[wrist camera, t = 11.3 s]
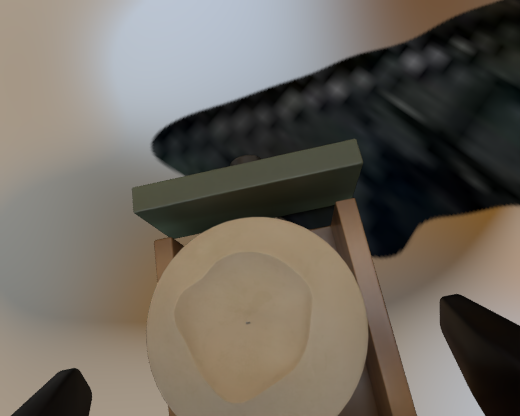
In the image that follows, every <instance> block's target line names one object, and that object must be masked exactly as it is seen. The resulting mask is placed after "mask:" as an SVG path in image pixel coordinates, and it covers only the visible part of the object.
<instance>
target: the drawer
mask: <svg viewBox="0 0 520 416" xmlns="http://www.w3.org/2000/svg"><path fill="white" fill-rule="evenodd" d="M362 165H363V160H362V157H361V153H360V150H359V147H358V144H357V140H356V139H352V140H347V141H343V142H338V143H334V144H329V145H324V146H320V147H315V148H311V149H306V150H302V151H297V152H293V153H288V154H284V155H279V156H275V157H270V158H266V159H261V158H260V157H258V156H255V155H246V156H241V157H238V158H236V159H235V160H233V161H232V162H231V165H230V166H229V167H225V168H220V169H216V170H211V171H207V172H202V173H198V174H193V175H189V176H184V177H179V178H175V179H170V180H166V181H162V182H157V183H153V184H148V185H143V186H139V187H134V188H132V196H133V210H134V213H135V214H136V215H138V216H140V217H141V218H142V219H144V220H145V221H146V222H148V223H149V224H151V225H152V226H154V227H155V228H157V229H158V230H159V231H161V232H162V233H164V234H165V235H167V236H168V238H163V239H159V240H155V241H154V247H155V259H156V270H157V282H159V280H160V278H161V276H162V274H163V272H164V271H165V269H166V268H167V266H168V265H169V263H170V262H171V260H172V259H173V258H174V257H175V256H176V255H177V253H178V252H179V251H180V250H181V249H182V248H183V247H184V246H183V245H182V244H180V243H179V242H177V241H176V240H174V239H175V238H180V237H185V236H190V235H195V234H199V233H203V232H205V231H206V230H208V229H210V228H212V227H214V226H217V225H219V224H222V223H224V222H227V221H231V220H235V219H240V218H248V217H268V218H275V217H280V216H284V215H289V214H294V213H299V212H303V211H308V210H313V209H318V208H322V207H327V206H332V205H335V208H334V213H333V218H332V222H331V225H330V226H325V227H321V228H316V229H311V230H309V231H311V232H313V233H315V234H316V235H318V236H319V237H320V238H322V239H323V240H324V241H326V242H327V243H328V244H329V245H330V246H331V247H332V248H333V249H334V250H335V251H336V252H337V253H338V254H339V255H340V256H341V258H342V259H343V260H344V261H345V263H346V264H347V266H348V267H349V269H350V270H351V272H352V274H353V275H354V277H355V279H356V282H357V284H358V286H359V288H360V290H361V294H362V297H363V300H364V303H365V308H366V314H367V319H368V348H367V355H366V360H365V364H364V369H363V372H362V374H361V377H360V380H359V383H358V385H357V387H356V389H355V391H354V393H353V395H352V396H351V398H350V400H349V401H348V403H347V404H346V405H345V407H344V408H343V410H342V411H341V412H340V413H339V414H338V416H417V414H416V411H415V407H414V404H413V400H412V397H411V393H410V390H409V386H408V383H407V379H406V376H405V372H404V369H403V365H402V362H401V358H400V355H399V351H398V348H397V345H396V341H395V337H394V334H393V330H392V327H391V323H390V320H389V317H388V313H387V309H386V306H385V302H384V299H383V295H382V292H381V288H380V285H379V281H378V278H377V274H376V271H375V267H374V264H373V260H372V257H371V253H370V250H369V246H368V243H367V239H366V236H365V232H364V229H363V225H362V222H361V218H360V215H359V211H358V208H357V204H356V201H355V198H352V196H353V193H354V190H355V187H356V184H357V181H358V178H359V174H360V171H361V168H362ZM168 408H169V416H176V415H175V414H174V413H173V411H172V410H171V408H170V407H169V406H168Z"/></svg>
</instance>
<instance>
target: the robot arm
mask: <svg viewBox="0 0 520 416" xmlns="http://www.w3.org/2000/svg"><path fill="white" fill-rule="evenodd" d="M440 326H441V330H442V333H443V335H444V337H445V339H446V341H447V343H448V345H449V347H450V349H451V351H452V353H453V355H454V358H455V359H456V362H457V364H458V366H459V368H460V370H461V372H462V374H463V376H464V378H465V380H466V382H467V384H468V386H469V388H470V390H471V392H472V394H473V396H474V397H475V399H476V401H477V403H478V404H479V406H480V407H481V409H482V411H483V413H484V414H485V416H520V326H519V325H517V324H515V323H513V322H512V321H509V320H508V319H506V318H504V317H502V316H500V315H498V314H496V313H494V312H492V311H491V310H489V309H487V308H485V307H483V306H481V305H479V304H477V303H475V302H473V301H471V300H469V299H468V298H466V297H464V296H462V295H459V294H454V295H449V296H444V297H442V298H441V299H440ZM91 401H92V392H91V389H90V387H89V386H88V384H87V382H86V381H85V379H84V377H83V375H82V374H81V372H80V371H79V370H78V369H76V368H72V369H67V370H62V371H60V372H58V373H57V374H56V375H55V376H54V377H53V378H51V379H50V380H49V381H48V382H47V383H46V384H45V385H44V386H43V387H42V388H41V389H39V390H38V391H37V392H36V393H35V394H34V395H33V396H32V397H31V398H30V399H29V400H28V401H26V402H25V403H24V404H23V405H22V406H21V407H20V408H19V409H18V410H17V411H16V412H14V413H13V414H12V415H11V416H89V411H90V406H91Z"/></svg>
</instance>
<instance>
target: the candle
mask: <svg viewBox="0 0 520 416" xmlns="http://www.w3.org/2000/svg"><path fill="white" fill-rule="evenodd" d="M146 333H147V334H146V343H147V352H148V359H149V363H150V367H151V371H152V374H153V377H154V379H155V382H156V385H157V387H158V389H159V391H160V393H161V394H162V396H163V398H164V400H165V401H166V403H167V404H168V406H169V407H170V408H171V410H172V411H173V413H174V414H175V415H176V416H338V414H339V413H340V412H341V411H342V410H343V408H344V407H345V405H346V404H347V403H348V401H349V400H350V398H351V396H352V395H353V393H354V391H355V389H356V387H357V385H358V383H359V380H360V377H361V374H362V372H363V369H364V364H365V360H366V355H367V348H368V319H367V314H366V308H365V303H364V300H363V297H362V294H361V290H360V288H359V286H358V284H357V282H356V279H355V277H354V275H353V274H352V272H351V270H350V269H349V267H348V266H347V264H346V263H345V261H344V260H343V259H342V258H341V256H340V255H339V254H338V253H337V252H336V251H335V250H334V249H333V248H332V247H331V246H330V245H329V244H328V243H327V242H326V241H324V240H323V239H322V238H320V237H319V236H318V235H316V234H315V233H313V232H311V231H309V230H307V229H306V228H304V227H301V226H299V225H297V224H294V223H292V222H288V221H284V220H281V219H275V218H268V217H248V218H240V219H235V220H231V221H227V222H224V223H222V224H219V225H217V226H214V227H212V228H210V229H208V230H206V231H205V232H203V233H201V234H200V235H198V236H197V237H196V238H194V239H192V240H191V241H190V242H189V243H188V244H187V245H186V246H184V247H183V248H182V249H181V250H180V251H179V252H178V253H177V255H176V256H175V257H174V258H173V259H172V260H171V262H170V263H169V265H168V266H167V268H166V269H165V271H164V272H163V274H162V276H161V278H160V280H159V282H158V284H157V286H156V289H155V291H154V294H153V296H152V300H151V304H150V308H149V312H148V320H147V327H146Z"/></svg>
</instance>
